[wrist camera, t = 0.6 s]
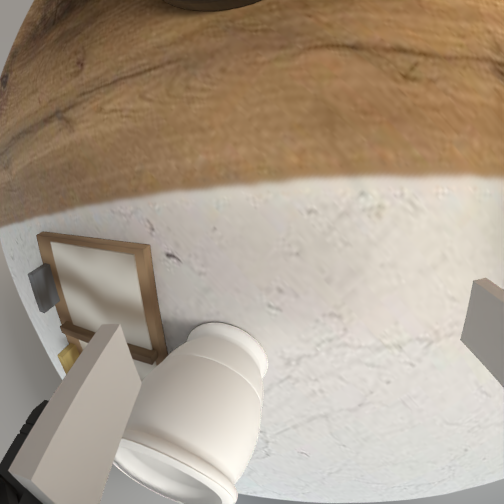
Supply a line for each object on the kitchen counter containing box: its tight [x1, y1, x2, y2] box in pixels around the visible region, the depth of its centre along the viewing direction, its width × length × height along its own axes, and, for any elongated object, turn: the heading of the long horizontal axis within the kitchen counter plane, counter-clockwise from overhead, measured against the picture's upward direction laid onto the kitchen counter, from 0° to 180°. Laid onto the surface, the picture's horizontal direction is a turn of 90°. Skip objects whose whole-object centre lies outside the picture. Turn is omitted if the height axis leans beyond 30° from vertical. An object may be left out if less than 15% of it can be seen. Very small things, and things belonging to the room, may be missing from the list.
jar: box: [113, 323, 268, 504], centre depth 23 cm, size 11×10×15 cm
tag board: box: [28, 232, 168, 382], centre depth 31 cm, size 24×16×4 cm, turn 0°
